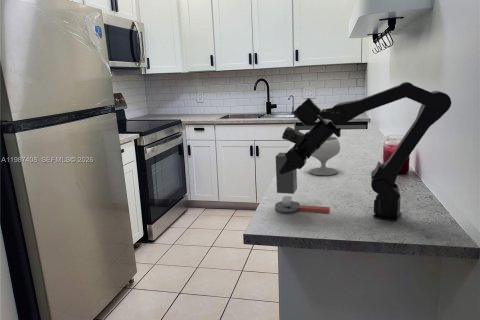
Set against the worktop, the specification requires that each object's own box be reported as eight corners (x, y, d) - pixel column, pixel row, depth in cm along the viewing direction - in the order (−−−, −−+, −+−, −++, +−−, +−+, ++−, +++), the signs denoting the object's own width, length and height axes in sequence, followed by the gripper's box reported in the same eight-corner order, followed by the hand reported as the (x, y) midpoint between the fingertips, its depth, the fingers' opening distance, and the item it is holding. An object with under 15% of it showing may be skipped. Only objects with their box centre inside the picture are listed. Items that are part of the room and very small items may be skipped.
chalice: (305, 176, 155) (305, 141, 151) (308, 168, 168) (308, 135, 165) (340, 177, 151) (340, 141, 148) (340, 168, 164) (340, 135, 161)
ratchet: (331, 207, 118) (331, 195, 117) (328, 216, 111) (328, 204, 110) (278, 204, 124) (278, 193, 123) (272, 212, 117) (271, 200, 116)
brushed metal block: (297, 188, 119) (296, 152, 117) (293, 193, 114) (292, 156, 112) (280, 187, 121) (279, 152, 118) (276, 192, 116) (275, 156, 114)
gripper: (302, 114, 120) (271, 147, 126) (291, 122, 103) (255, 160, 109) (327, 138, 119) (295, 170, 125) (319, 150, 102) (282, 186, 108)
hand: (282, 170), depth 117 cm, fingers closed on brushed metal block, 5 cm apart
